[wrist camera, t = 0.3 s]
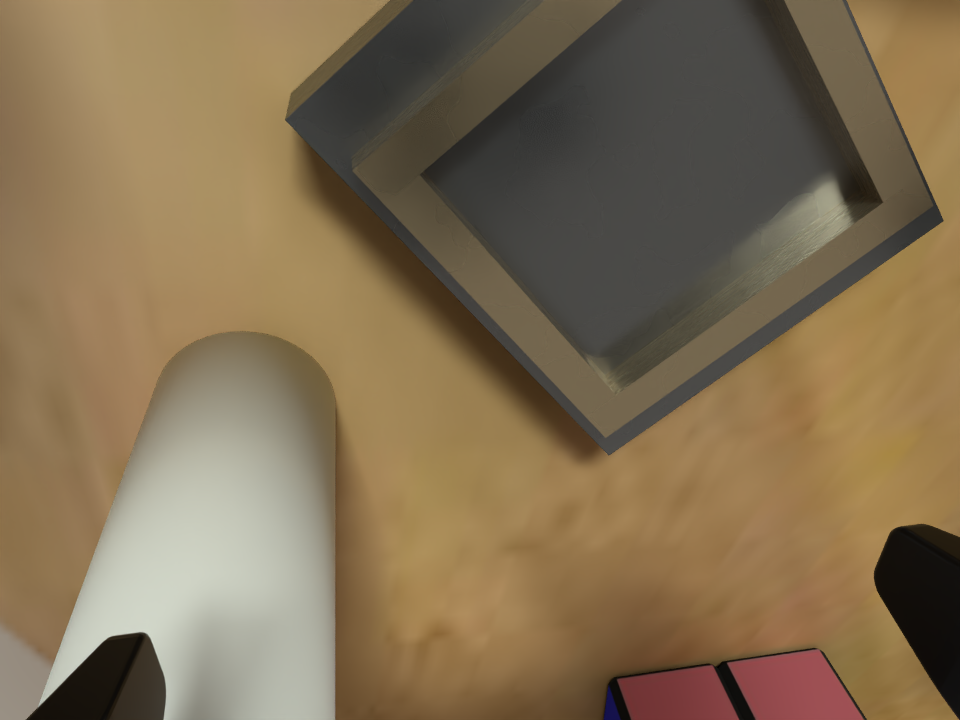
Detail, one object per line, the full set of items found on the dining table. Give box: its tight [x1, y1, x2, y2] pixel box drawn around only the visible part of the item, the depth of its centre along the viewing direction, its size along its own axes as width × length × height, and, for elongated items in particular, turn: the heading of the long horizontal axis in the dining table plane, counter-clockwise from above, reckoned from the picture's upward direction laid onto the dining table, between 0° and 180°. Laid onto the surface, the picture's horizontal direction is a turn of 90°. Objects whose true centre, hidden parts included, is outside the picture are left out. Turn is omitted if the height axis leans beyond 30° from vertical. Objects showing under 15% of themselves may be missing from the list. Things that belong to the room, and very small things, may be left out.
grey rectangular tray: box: [285, 0, 943, 455], centre depth 19 cm, size 13×11×4 cm
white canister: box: [38, 331, 336, 720], centre depth 17 cm, size 5×5×14 cm
